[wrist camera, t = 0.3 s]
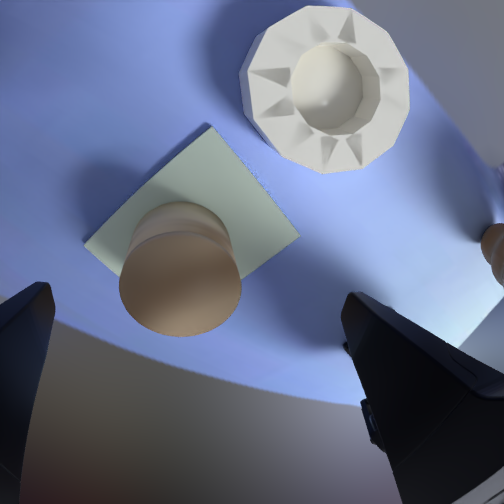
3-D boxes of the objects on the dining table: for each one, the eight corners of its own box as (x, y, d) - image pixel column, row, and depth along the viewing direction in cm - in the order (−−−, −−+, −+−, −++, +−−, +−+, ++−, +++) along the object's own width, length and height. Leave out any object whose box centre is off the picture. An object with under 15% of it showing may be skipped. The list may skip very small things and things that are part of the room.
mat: (299, 233, 23) (300, 235, 23) (179, 321, 26) (179, 325, 25) (211, 125, 18) (212, 126, 18) (85, 243, 21) (83, 245, 20)
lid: (250, 251, 23) (265, 293, 19) (179, 304, 24) (179, 352, 20) (184, 180, 20) (182, 209, 15) (111, 246, 21) (95, 289, 16)
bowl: (403, 110, 20) (430, 117, 17) (299, 187, 22) (315, 203, 19) (332, -7, 15) (354, -18, 12) (207, 70, 17) (210, 66, 14)
